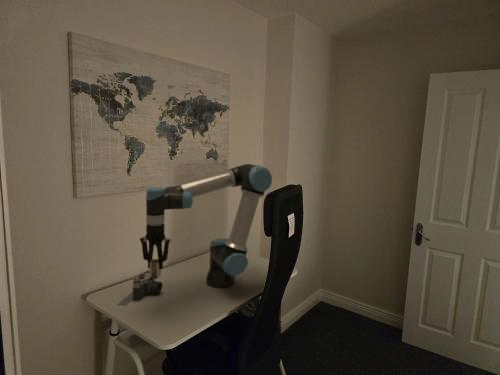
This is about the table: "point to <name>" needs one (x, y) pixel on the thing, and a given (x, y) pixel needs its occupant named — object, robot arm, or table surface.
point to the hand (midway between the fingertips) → (155, 275)
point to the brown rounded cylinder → (154, 268)
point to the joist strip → (126, 299)
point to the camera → (145, 285)
